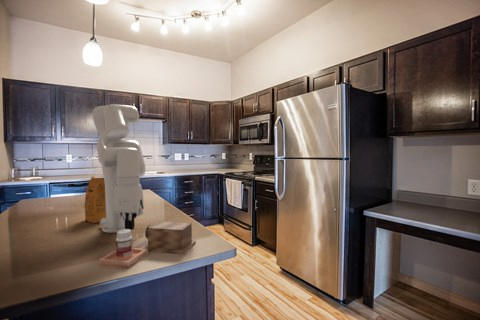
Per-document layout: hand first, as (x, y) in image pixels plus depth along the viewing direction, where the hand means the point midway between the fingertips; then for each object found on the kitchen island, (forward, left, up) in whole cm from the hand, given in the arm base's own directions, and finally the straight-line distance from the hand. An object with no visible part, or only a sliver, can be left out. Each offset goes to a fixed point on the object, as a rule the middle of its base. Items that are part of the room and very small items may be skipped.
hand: (129, 229), depth 90 cm
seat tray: (+7, -12, -5) cm, 15 cm away
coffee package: (-37, +25, -5) cm, 45 cm away
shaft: (+15, 0, -3) cm, 15 cm away
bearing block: (+13, 0, -5) cm, 14 cm away
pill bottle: (+7, -12, -5) cm, 15 cm away
